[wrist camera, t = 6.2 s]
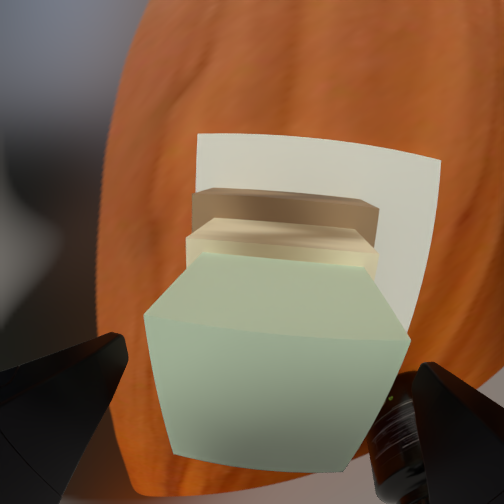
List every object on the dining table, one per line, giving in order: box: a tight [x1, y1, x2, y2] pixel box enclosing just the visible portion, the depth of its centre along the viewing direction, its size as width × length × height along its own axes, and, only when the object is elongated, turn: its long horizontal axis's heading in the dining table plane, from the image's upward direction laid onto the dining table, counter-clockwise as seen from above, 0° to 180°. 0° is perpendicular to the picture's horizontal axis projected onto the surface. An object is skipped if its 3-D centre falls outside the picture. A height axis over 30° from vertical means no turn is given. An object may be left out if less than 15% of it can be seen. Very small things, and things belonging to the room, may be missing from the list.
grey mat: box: [196, 134, 441, 333], centre depth 15 cm, size 14×12×1 cm
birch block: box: [186, 218, 379, 281], centre depth 11 cm, size 6×6×4 cm
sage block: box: [144, 252, 411, 473], centre depth 7 cm, size 5×5×4 cm
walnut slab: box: [192, 188, 379, 248], centre depth 14 cm, size 8×8×4 cm
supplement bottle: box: [366, 371, 430, 504], centre depth 13 cm, size 7×7×12 cm
